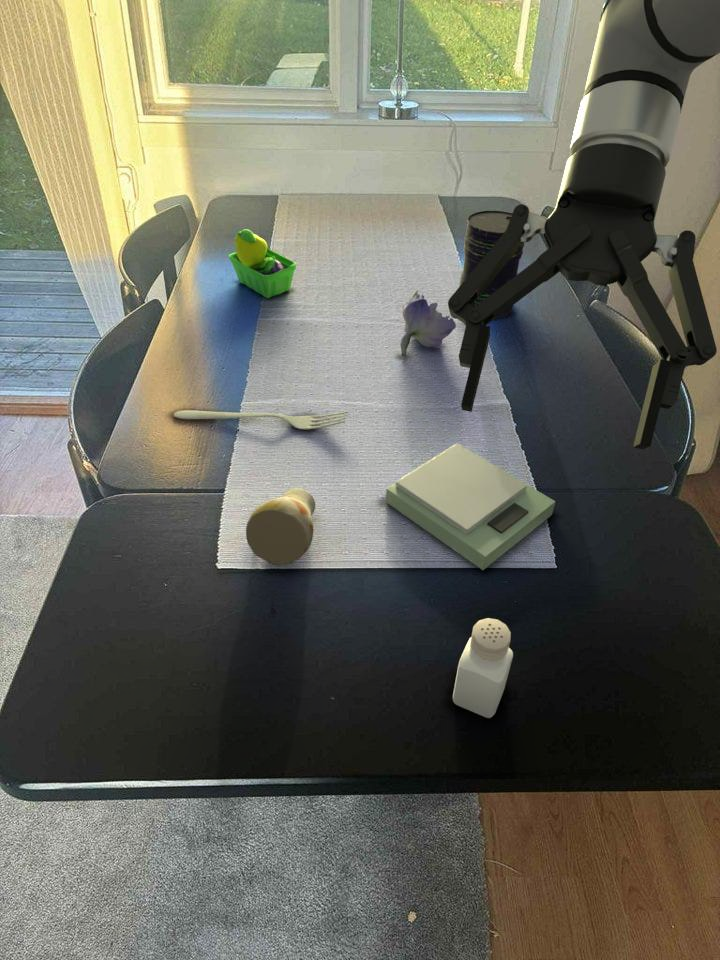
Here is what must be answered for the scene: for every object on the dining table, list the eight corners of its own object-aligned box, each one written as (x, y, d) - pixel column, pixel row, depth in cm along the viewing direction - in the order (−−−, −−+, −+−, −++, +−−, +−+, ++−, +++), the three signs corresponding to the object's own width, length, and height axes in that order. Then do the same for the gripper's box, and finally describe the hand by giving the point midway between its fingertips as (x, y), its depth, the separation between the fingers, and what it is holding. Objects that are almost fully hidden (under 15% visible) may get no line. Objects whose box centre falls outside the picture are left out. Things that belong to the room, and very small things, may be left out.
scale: (552, 515, 83) (557, 496, 81) (482, 570, 76) (486, 551, 74) (455, 456, 91) (458, 438, 89) (385, 502, 84) (386, 483, 82)
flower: (423, 332, 103) (441, 279, 106) (376, 339, 108) (395, 288, 112) (451, 369, 109) (467, 318, 113) (406, 373, 114) (422, 324, 118)
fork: (177, 408, 99) (175, 397, 97) (348, 419, 97) (348, 409, 96) (170, 421, 96) (168, 410, 95) (345, 433, 95) (345, 423, 94)
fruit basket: (300, 290, 127) (297, 229, 120) (260, 305, 123) (255, 242, 115) (263, 270, 134) (258, 210, 126) (224, 283, 129) (216, 222, 122)
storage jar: (486, 324, 119) (499, 237, 109) (445, 303, 124) (454, 218, 115) (524, 307, 123) (540, 223, 114) (484, 288, 129) (495, 206, 119)
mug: (331, 509, 84) (335, 482, 74) (297, 583, 80) (297, 565, 71) (274, 485, 84) (271, 455, 74) (238, 558, 81) (230, 536, 71)
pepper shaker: (449, 705, 64) (461, 641, 58) (464, 671, 67) (476, 607, 60) (491, 723, 62) (508, 660, 56) (505, 687, 65) (522, 624, 59)
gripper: (768, 209, 56) (705, 467, 56) (462, 164, 61) (404, 401, 61) (809, 163, 49) (736, 459, 48) (457, 116, 53) (391, 385, 53)
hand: (551, 427), depth 55 cm, fingers open, 13 cm apart
